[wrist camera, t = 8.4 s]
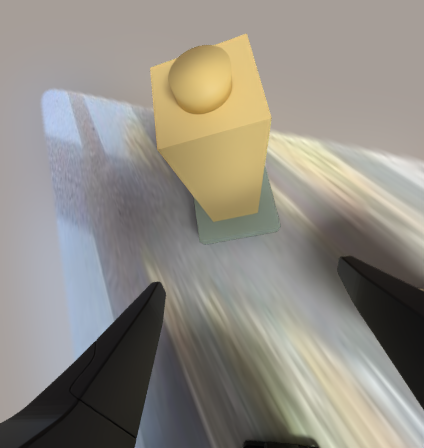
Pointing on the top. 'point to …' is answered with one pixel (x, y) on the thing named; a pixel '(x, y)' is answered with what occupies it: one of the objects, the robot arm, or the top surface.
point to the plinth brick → (240, 220)
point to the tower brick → (214, 125)
